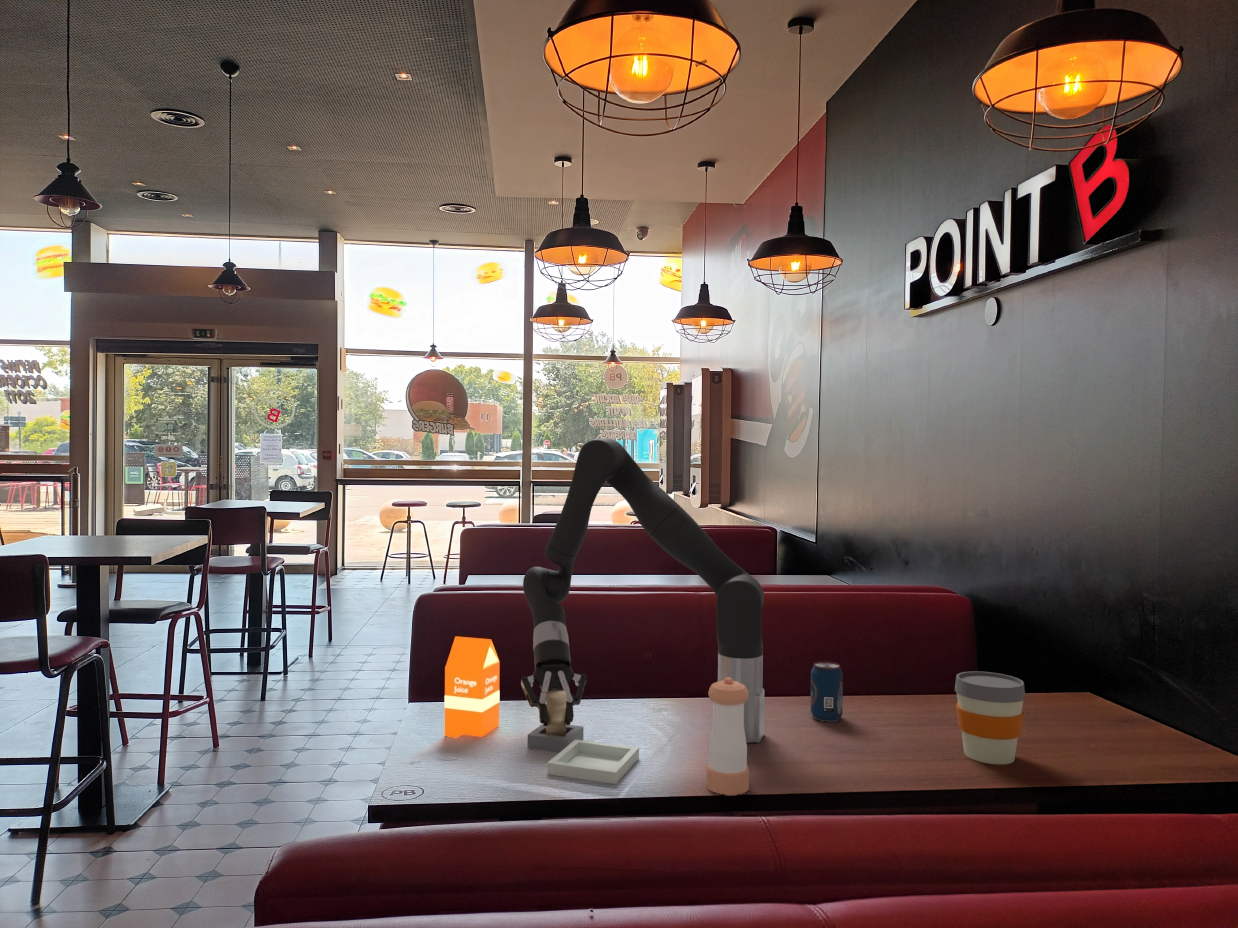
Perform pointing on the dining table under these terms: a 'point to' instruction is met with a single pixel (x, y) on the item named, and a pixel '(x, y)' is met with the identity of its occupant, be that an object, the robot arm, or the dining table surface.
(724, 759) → the pepper shaker
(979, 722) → the reusable coffee cup
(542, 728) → the grey square socket
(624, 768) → the tray
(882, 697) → the dining table surface
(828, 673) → the soda can
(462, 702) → the orange juice
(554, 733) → the dowel
